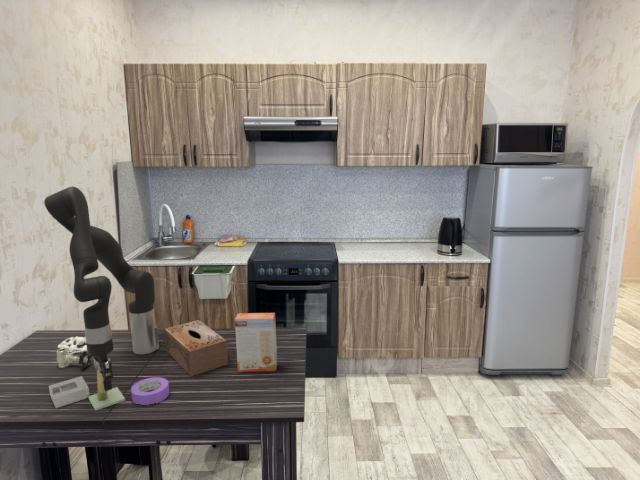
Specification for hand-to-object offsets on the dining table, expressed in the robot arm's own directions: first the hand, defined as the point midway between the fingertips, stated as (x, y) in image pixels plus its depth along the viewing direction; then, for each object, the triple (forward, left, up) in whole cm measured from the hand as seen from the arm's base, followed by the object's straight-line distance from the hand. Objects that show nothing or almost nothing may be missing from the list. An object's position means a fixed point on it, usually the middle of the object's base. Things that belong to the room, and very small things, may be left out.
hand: (104, 384), depth 147 cm
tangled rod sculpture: (-1, -48, -6) cm, 48 cm away
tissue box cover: (-35, -9, -6) cm, 37 cm away
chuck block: (+9, -10, -5) cm, 14 cm away
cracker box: (-49, +14, -6) cm, 51 cm away
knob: (+1, 0, -4) cm, 5 cm away
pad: (0, 0, -5) cm, 5 cm away
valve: (+4, -33, -6) cm, 33 cm away
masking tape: (-12, +7, -6) cm, 15 cm away
